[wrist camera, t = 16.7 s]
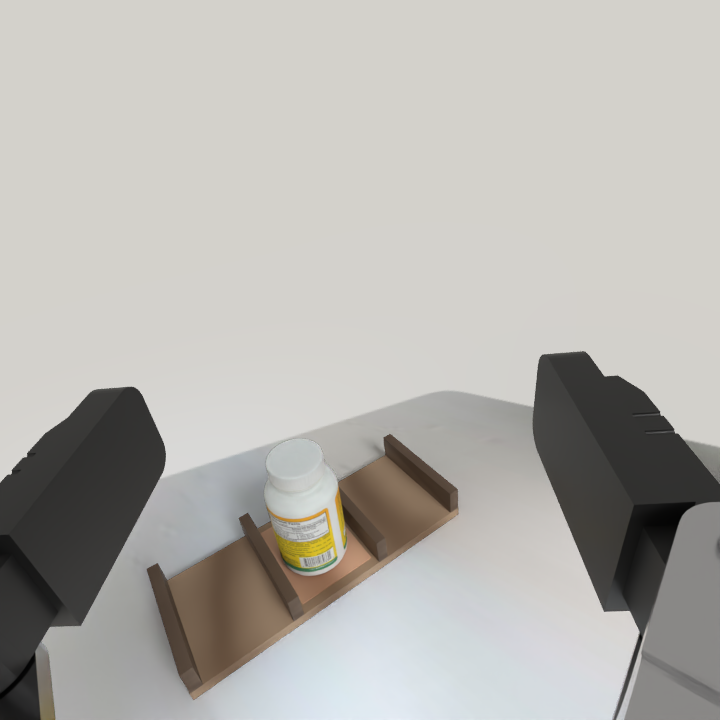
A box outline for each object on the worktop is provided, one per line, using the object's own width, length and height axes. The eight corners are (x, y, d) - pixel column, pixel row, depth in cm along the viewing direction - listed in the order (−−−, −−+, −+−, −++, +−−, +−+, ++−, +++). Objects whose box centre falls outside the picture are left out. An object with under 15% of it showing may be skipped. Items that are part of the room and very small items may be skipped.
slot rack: (393, 457, 46) (390, 433, 44) (458, 514, 39) (458, 488, 38) (159, 593, 36) (145, 569, 35) (193, 699, 29) (178, 676, 28)
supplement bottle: (321, 591, 34) (298, 498, 29) (267, 559, 36) (237, 470, 32) (361, 535, 37) (347, 445, 32) (309, 510, 40) (289, 423, 35)
